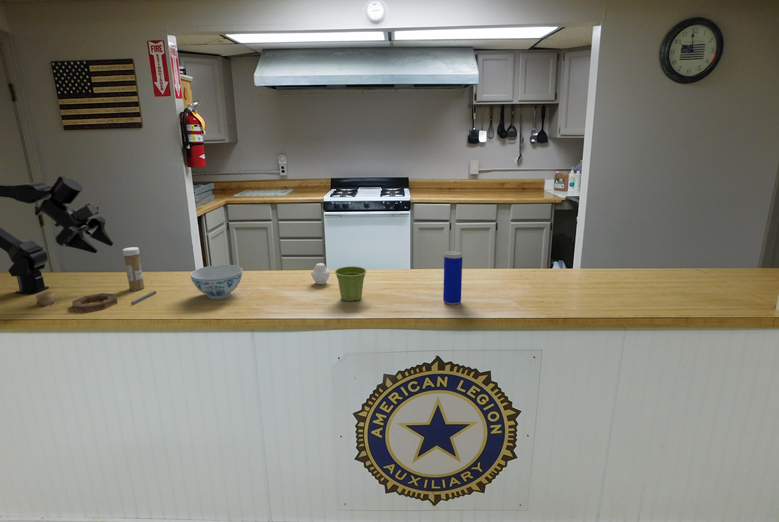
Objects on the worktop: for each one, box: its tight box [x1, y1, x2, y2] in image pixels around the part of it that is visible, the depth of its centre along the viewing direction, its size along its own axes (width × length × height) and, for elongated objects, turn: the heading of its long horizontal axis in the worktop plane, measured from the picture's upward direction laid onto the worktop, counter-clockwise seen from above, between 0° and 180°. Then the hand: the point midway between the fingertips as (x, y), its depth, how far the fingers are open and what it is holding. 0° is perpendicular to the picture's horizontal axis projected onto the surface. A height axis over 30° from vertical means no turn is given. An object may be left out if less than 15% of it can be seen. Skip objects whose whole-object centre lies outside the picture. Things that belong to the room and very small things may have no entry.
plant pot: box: [334, 265, 367, 302], centre depth 143 cm, size 9×9×9 cm
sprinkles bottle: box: [122, 246, 145, 291], centre depth 153 cm, size 5×5×14 cm
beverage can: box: [442, 250, 463, 306], centre depth 138 cm, size 5×5×15 cm
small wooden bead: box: [35, 291, 57, 307], centre depth 141 cm, size 4×4×3 cm
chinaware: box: [189, 264, 243, 300], centre depth 146 cm, size 15×15×8 cm
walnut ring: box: [71, 292, 118, 313], centre depth 141 cm, size 11×11×2 cm
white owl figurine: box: [310, 262, 331, 285], centre depth 157 cm, size 6×6×7 cm
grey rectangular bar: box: [130, 290, 157, 306], centre depth 145 cm, size 10×1×1 cm, turn 168°
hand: (104, 248), depth 150 cm, fingers open, 9 cm apart
